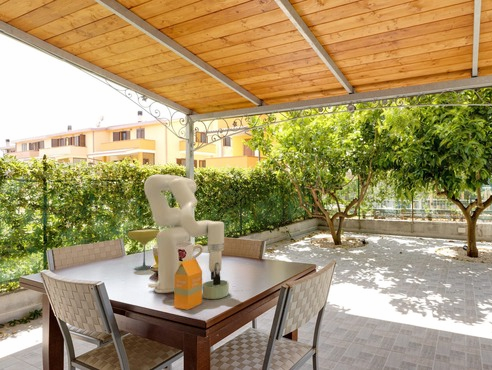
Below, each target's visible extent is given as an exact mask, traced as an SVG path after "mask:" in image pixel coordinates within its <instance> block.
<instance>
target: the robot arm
mask: <svg viewBox="0 0 492 370" xmlns="http://www.w3.org/2000/svg"><path fill="white" fill-rule="evenodd" d="M197 186H198V185H197V183H196V182H195V180H194V179H192V178H190V177H189V178H188V177H184V176H179V175H175V174H160V173H159V174H157V173H156V174H151V175H149V176H148V177H147V178H146V180H145V181H144V186H143V191H144V194H145V196H146V199H147V201H148V204H149V206H150V207H149V208H150V210H151V214H152V217H153V220H154V224H155V225H156V226H157V227H160V228H163V227H167V228H164V229H160V232H159V233H158V234H157V237H156V238H155V241H156V245H157V246H156V247H157V254H158V258H157V260H158V262H157V263H158V264H157V265H158V269H157V275H158V277H157V279H158V280H157V281H155V282H151V283H148V284H147V286H148V287H147V288H150V289H154V292H155V293H157V294H169V293H174V288H175V273H176V271H177V270H178V268H179V266H180V254H179V253H180V252H179V250H178V248H177V246H179V245H183V244H186V243H188V242H189V240H190V237H191V238H199V237H204V236H207V252H209V254H208V256H209V257H208V269H209V272H210V281H212V280H213V285H220V280H221V271H222V264H223V263H222V261H223V260H222V259H223V258H222V256H223V255H222V253H223V252H222V251H224V250H225V223H224V222H223V221H219V220H218V221H216V220H215V221H214V220H209V219H204V220H197V221H196V219H195V217H194V215H193V212H192V210H193V208H195V207H196V206H197V205H198V199H197V198H196V196H195V193H196V191H197V189H198V188H197ZM164 191H165V192H168V191H169V192H171V194H172V195H173V197H174V200H175V201H176V202H177V205H178V206H179V207H180V208H179V207H170V204H169V201H168V198H167V197H166V195H165V194H164V193H163V192H164ZM213 276H214V277H213Z"/></svg>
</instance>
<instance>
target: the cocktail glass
mask: <svg viewBox="0 0 492 370" xmlns="http://www.w3.org/2000/svg"><path fill="white" fill-rule="evenodd" d="M160 231H161V229H160V228H155V227H153V228H151V227H150V228H149V227H148V228H134V229H129V230H128V233H127V234H128V235H127V236H128V238H130V239H131V240H133V241H135V242H138V243H140V244H141V246H143V262H142V265H140V266H136V267H135V268H134V270H136V271H146V270H150V269H149V268H150V267H151V266H152V265H146V248H145V247H146V246H147V244H148V243H149V242H151V241H153V240H155V239H156V237H157V234H158V233H159V232H160Z"/></svg>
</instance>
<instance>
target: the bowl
mask: <svg viewBox="0 0 492 370" xmlns="http://www.w3.org/2000/svg"><path fill="white" fill-rule="evenodd" d="M229 294H230V282H229V281H228V280H225V279H220V286H218V287H213V280H208V281H206V282H202V298H204V299H206V300H207V299H208V300H219V299H223V298H225V297H227V296H228V295H229Z"/></svg>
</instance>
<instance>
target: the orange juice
mask: <svg viewBox="0 0 492 370" xmlns="http://www.w3.org/2000/svg"><path fill="white" fill-rule="evenodd" d="M173 293H174V297H173V298H174V300H173V301H174V303H173V305H174V306H173V307H174V308H175V309H181V310H186V311H187V310H191V309H193V308H195V307H196V306H199V305H201V304H203V270H202V268H201V266H200V265H199V262H198V260H197V258H192V259H188V260H185V261H182V262H181V263H180V264H179V268H178V270H177V271H176V273H175V288H174V292H173Z"/></svg>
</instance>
